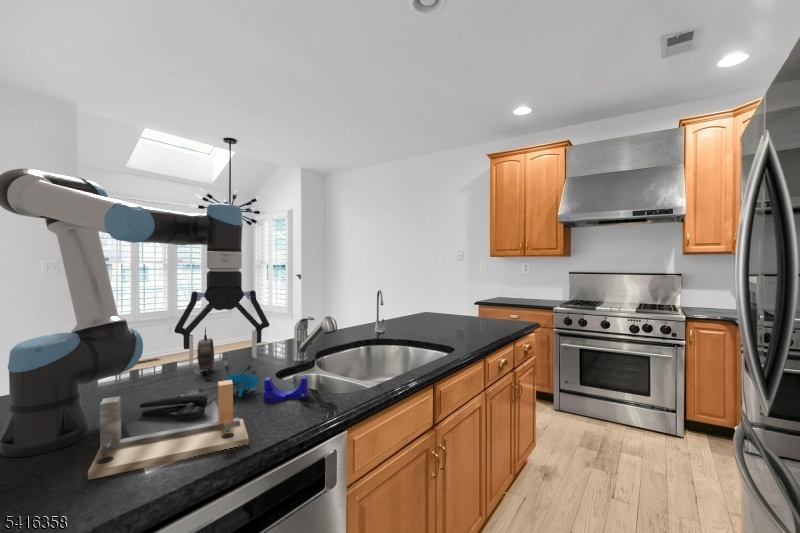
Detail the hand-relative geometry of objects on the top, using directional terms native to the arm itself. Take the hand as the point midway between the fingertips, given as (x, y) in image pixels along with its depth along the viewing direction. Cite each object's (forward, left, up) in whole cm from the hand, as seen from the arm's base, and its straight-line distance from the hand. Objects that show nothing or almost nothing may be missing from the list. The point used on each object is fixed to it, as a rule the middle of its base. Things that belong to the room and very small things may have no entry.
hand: (223, 359), depth 90 cm
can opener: (-11, +17, -18) cm, 27 cm away
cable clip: (+18, +16, -18) cm, 30 cm away
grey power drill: (-3, +58, -17) cm, 61 cm away
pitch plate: (-10, -4, -17) cm, 20 cm away
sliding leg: (0, -3, -15) cm, 15 cm away
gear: (+6, +26, -18) cm, 32 cm away
